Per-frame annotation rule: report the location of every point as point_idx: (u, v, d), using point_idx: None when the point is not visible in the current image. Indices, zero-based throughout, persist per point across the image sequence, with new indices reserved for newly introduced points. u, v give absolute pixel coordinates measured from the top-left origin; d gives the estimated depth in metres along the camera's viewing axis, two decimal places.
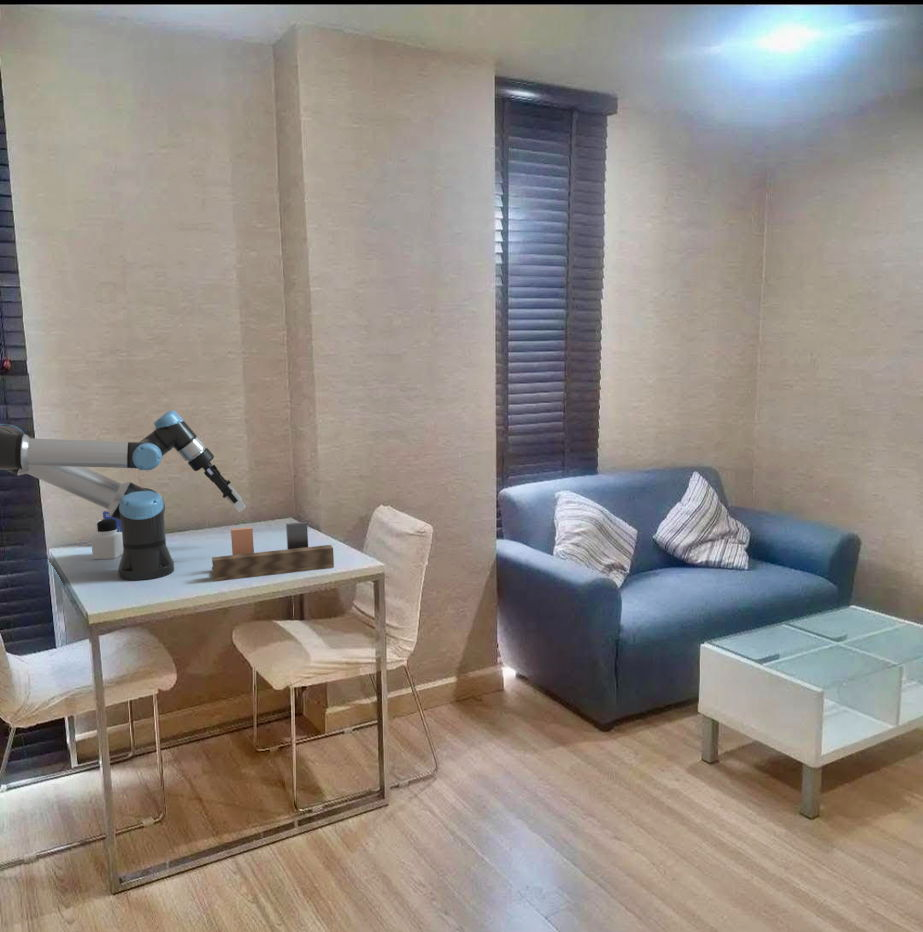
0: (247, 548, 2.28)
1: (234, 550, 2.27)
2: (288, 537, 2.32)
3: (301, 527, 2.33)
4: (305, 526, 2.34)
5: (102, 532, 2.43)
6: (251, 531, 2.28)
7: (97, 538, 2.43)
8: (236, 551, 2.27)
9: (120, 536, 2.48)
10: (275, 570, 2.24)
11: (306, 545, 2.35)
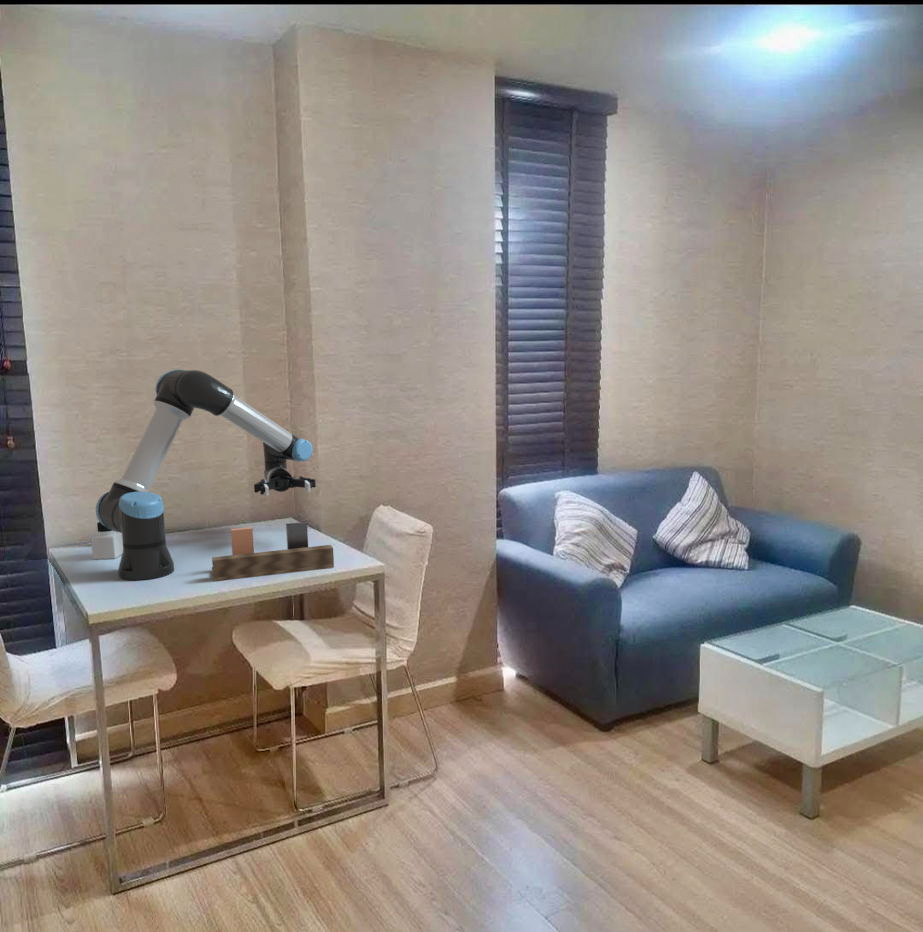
0: (247, 548, 2.28)
1: (234, 550, 2.27)
2: (288, 537, 2.32)
3: (301, 527, 2.33)
4: (305, 526, 2.34)
5: (102, 532, 2.43)
6: (251, 531, 2.28)
7: (97, 538, 2.43)
8: (236, 551, 2.27)
9: (120, 536, 2.48)
10: (275, 570, 2.24)
11: (306, 545, 2.35)
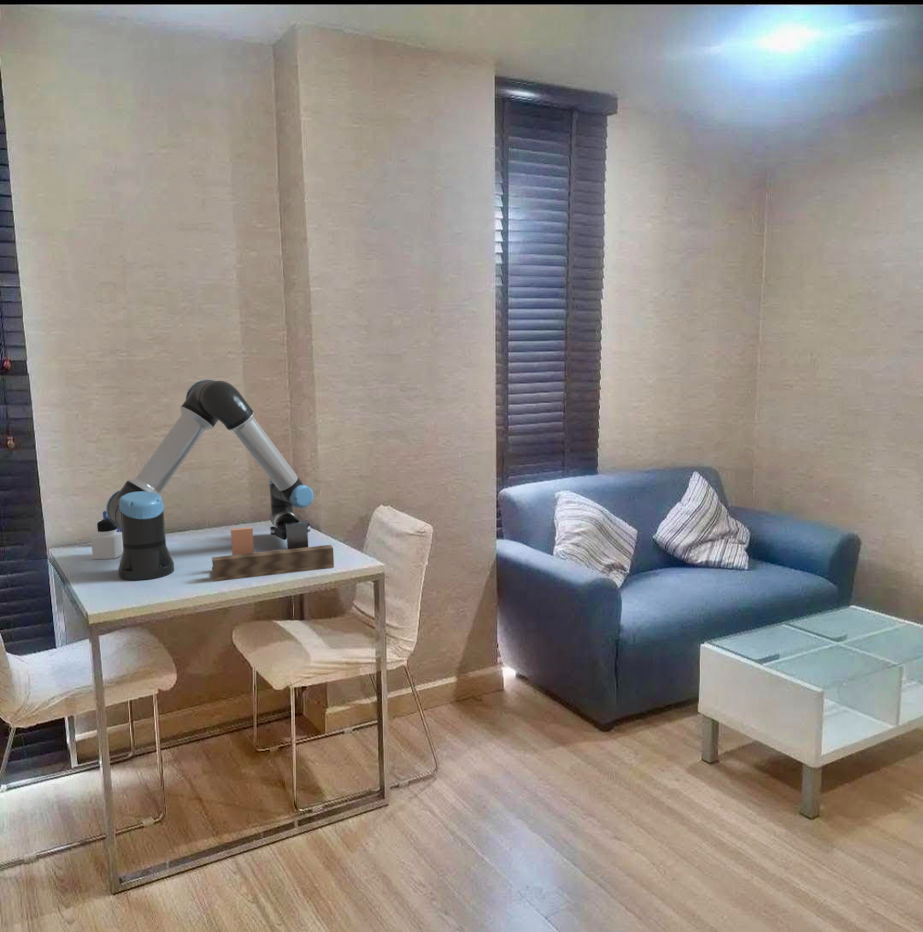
0: (247, 548, 2.28)
1: (234, 550, 2.27)
2: (288, 537, 2.32)
3: (301, 527, 2.33)
4: (305, 526, 2.34)
5: (102, 532, 2.43)
6: (251, 531, 2.28)
7: (97, 538, 2.43)
8: (236, 551, 2.27)
9: (120, 536, 2.48)
10: (275, 570, 2.24)
11: (306, 545, 2.34)
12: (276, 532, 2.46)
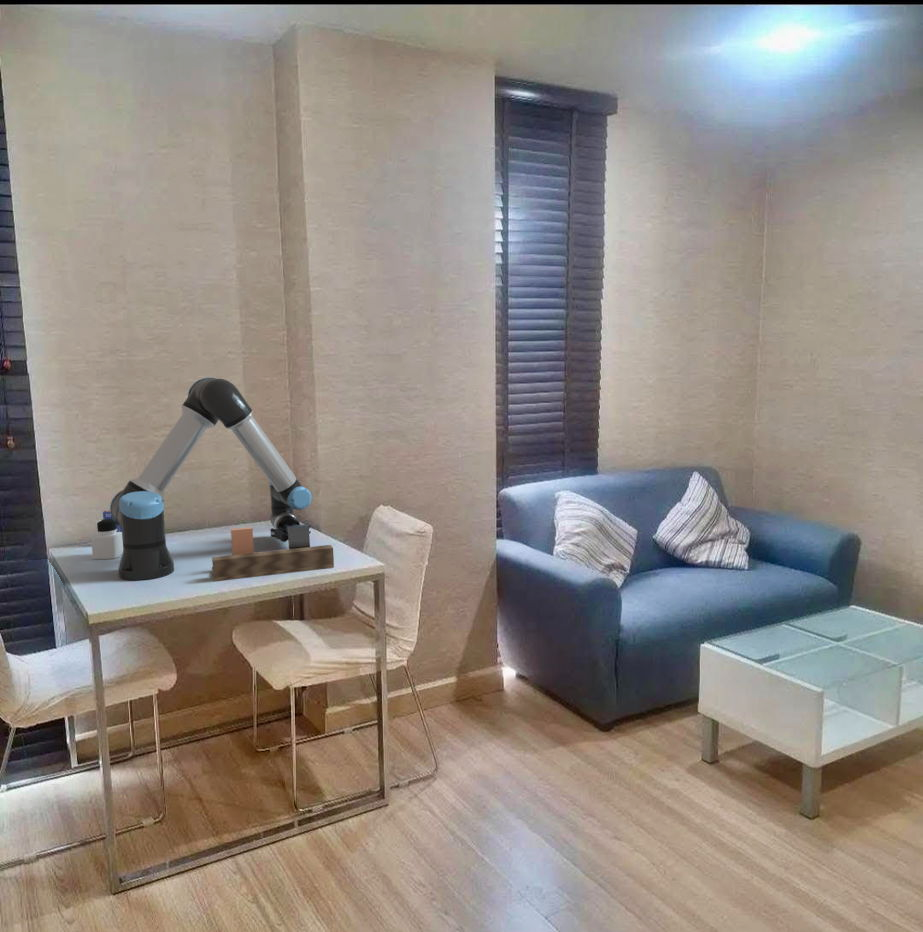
0: (247, 548, 2.28)
1: (234, 550, 2.27)
2: (290, 539, 2.29)
3: (303, 529, 2.30)
4: (307, 528, 2.31)
5: (102, 532, 2.43)
6: (251, 531, 2.28)
7: (97, 538, 2.43)
8: (236, 551, 2.27)
9: (120, 536, 2.48)
10: (275, 570, 2.24)
11: None
12: (276, 534, 2.42)
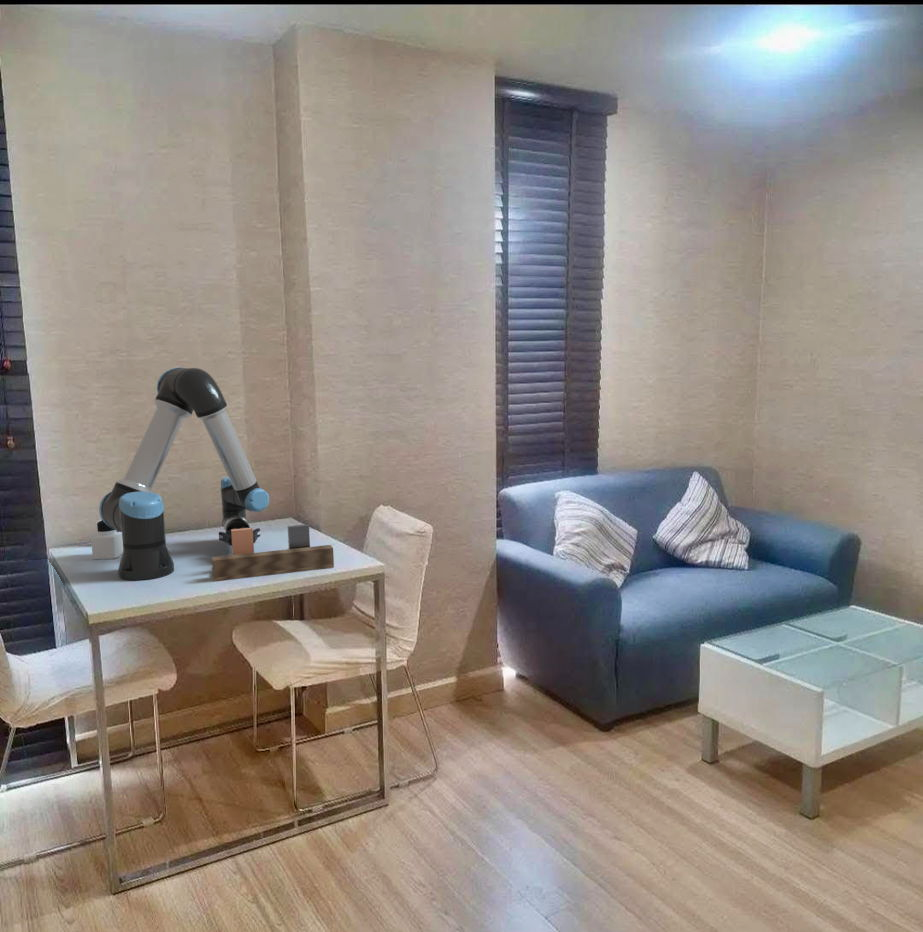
0: (247, 548, 2.28)
1: (234, 551, 2.27)
2: (290, 539, 2.29)
3: (303, 529, 2.30)
4: (307, 528, 2.31)
5: (102, 532, 2.43)
6: (251, 532, 2.27)
7: (97, 538, 2.43)
8: (237, 552, 2.27)
9: (120, 536, 2.48)
10: (275, 570, 2.24)
11: None
12: (224, 538, 2.40)
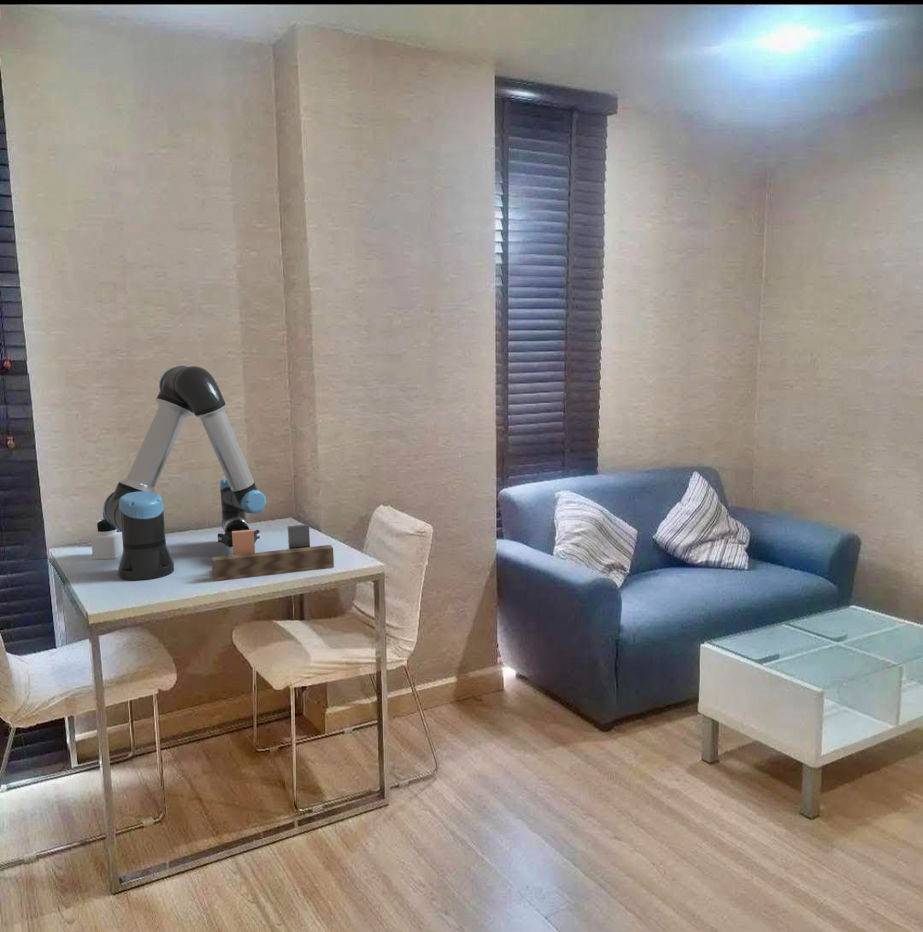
0: (248, 550, 2.25)
1: (235, 553, 2.24)
2: (290, 539, 2.29)
3: (303, 529, 2.30)
4: (307, 528, 2.31)
5: (102, 532, 2.43)
6: (252, 533, 2.25)
7: (97, 538, 2.43)
8: (237, 554, 2.24)
9: (120, 536, 2.48)
10: (275, 570, 2.24)
11: None
12: (223, 539, 2.37)
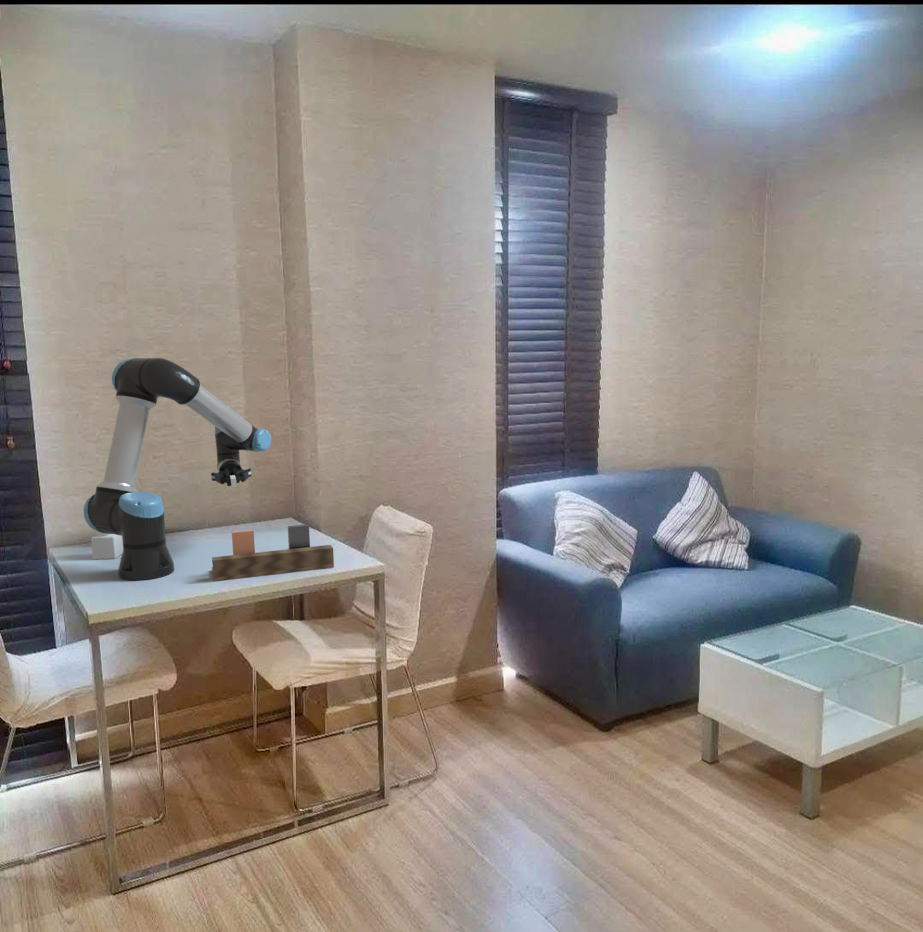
0: (248, 550, 2.25)
1: (235, 553, 2.24)
2: (290, 539, 2.29)
3: (303, 529, 2.30)
4: (307, 528, 2.31)
5: None
6: (252, 533, 2.25)
7: (97, 538, 2.43)
8: (237, 554, 2.24)
9: (120, 536, 2.48)
10: (275, 570, 2.24)
11: None
12: (216, 477, 2.49)
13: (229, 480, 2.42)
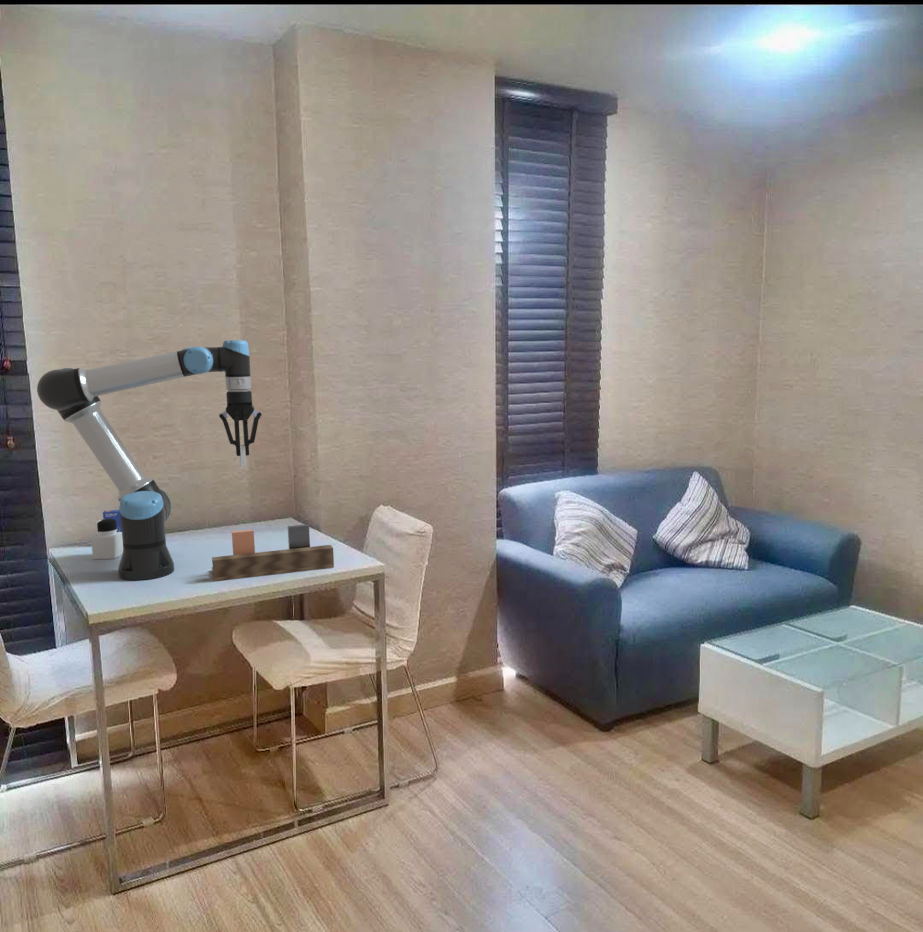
0: (248, 550, 2.25)
1: (235, 553, 2.24)
2: (290, 539, 2.29)
3: (303, 529, 2.30)
4: (307, 528, 2.31)
5: (102, 532, 2.43)
6: (252, 533, 2.25)
7: (97, 538, 2.43)
8: (237, 554, 2.24)
9: (120, 536, 2.48)
10: (275, 570, 2.24)
11: None
12: None
13: None
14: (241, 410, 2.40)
